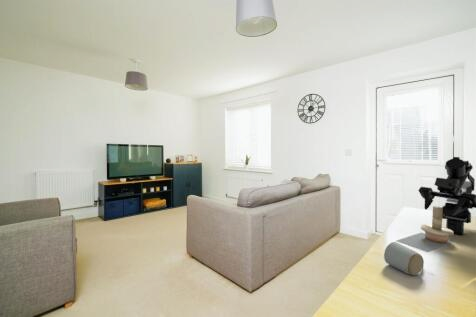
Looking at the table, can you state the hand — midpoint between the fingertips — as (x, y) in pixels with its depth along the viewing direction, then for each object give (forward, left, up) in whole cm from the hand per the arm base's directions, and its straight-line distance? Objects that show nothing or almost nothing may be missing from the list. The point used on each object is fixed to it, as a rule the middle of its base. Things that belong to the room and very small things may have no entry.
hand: (438, 211), depth 93 cm
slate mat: (+7, -1, -12) cm, 14 cm away
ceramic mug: (+35, +6, -13) cm, 38 cm away
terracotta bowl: (+1, 0, -12) cm, 12 cm away
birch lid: (+1, 0, -8) cm, 8 cm away
